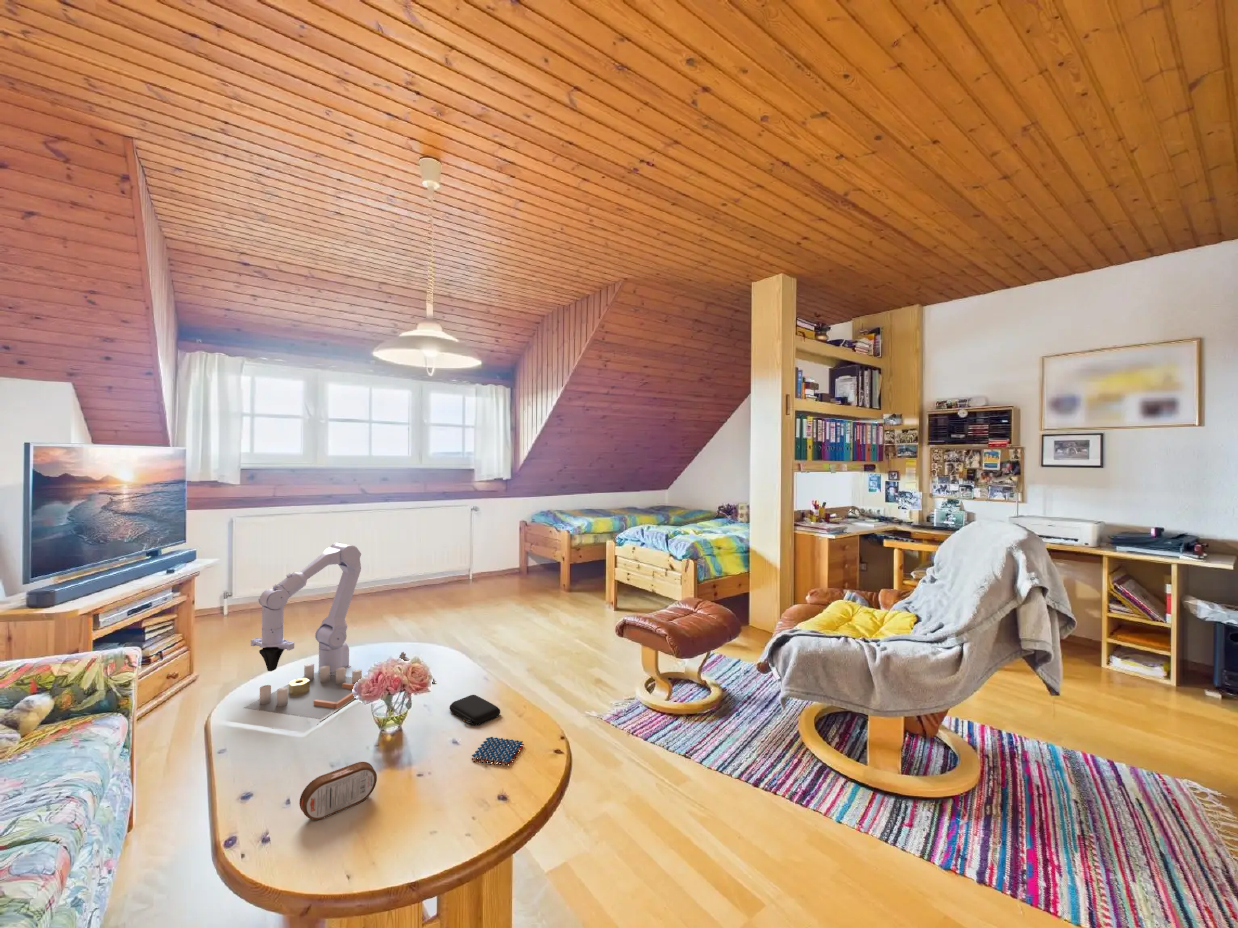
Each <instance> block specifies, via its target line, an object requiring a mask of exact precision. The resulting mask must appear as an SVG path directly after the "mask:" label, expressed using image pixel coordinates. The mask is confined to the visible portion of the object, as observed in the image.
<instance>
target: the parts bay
mask: <svg viewBox="0 0 1238 928" xmlns="http://www.w3.org/2000/svg"><path fill="white" fill-rule="evenodd" d="M353 686H354V684H351V683H343V684H342V688H348V689H353ZM350 699H351V700H352V699H355V697H354V696H353V694H352V693H350V694H349V695H347V696H346V697H344V698H342V699H341V700H339V701H338V702H331V701H324V700H314V705H317V706H325V707H332V708H337V709H339V708H341V707H342V705H345V704H347V703H348V702H349V701H351V700H350ZM347 701H348V702H347ZM344 703H345V704H344Z"/></svg>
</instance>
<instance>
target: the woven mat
mask: <svg viewBox="0 0 1238 928" xmlns="http://www.w3.org/2000/svg"><path fill="white" fill-rule="evenodd" d="M508 745H509V746H508ZM520 745H524V746H525V744H524V743H523V740H518V739H517V740H516V739H514V740H513V739H509V738H506V739H505V738H503V737H501V738H500V737H497V736H496V737H495V736H489V737H486V738H485V740H483V741H482V744H480V747H477V750H475V751H474V754H472V755H471V757H472V758H471V760H472V762H473V761H475V762H478V761H481V762H484V761H485V762H487V761H488V762H489V763H491V762H494V763H493V765H494V764H496V763H497V762H498V763H501V766H502V765H505V764H506V765H508V764H509V765H510V766H511V765H512V763H513V762H512V761H514V762H515V760H516V758H517V756H518V754H519V753H520V752H519V750H520V748H522V747H523V748H524V746H520ZM523 748H522V749H523ZM518 752H519V753H518ZM514 753H516V754H514ZM515 757H516V758H515ZM477 758H478V759H477ZM513 759H514V760H513ZM485 762H484V763H485ZM496 765H497V764H496ZM506 765H505V766H506Z"/></svg>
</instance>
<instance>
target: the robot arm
mask: <svg viewBox="0 0 1238 928" xmlns="http://www.w3.org/2000/svg"><path fill="white" fill-rule="evenodd" d="M361 555H362V553H361V551H360V550H359V548H358V547H357V546H356V545H352V544H345V543H343V542H334V543H333V544H331V545H330V546H329V547H327V548H325V549H324V551H323V552H322V553H321V554H320V555H319V556H317V557H316V558H315V559H314V560H313V561H311V562H310V563H309V564H308V565H307V566H305V567H304V568H303V569H302V570H300V571H299V572H298V571H297V572H295V571H294V572H292V573H290V572H289V573H288V574H286V575H285V576H286V577H285V578H284V579H282V580H281V581H280V582H278V583H276V584H274V585H272V588H268V589H265V590H264V591H262V592H261V595H260V596H259V598H258V600H257V601H258V604H260V605H261V607H262V608H261V611H262V612H261V613H262V614H261V637H255V638H252V639H251V640H250V647H256V646H257V647H259V648H261V649H260V650H258V652H259V654H260V656H261V657H262V659H263V661H264V663H265V665H266V666H265V667H266V670H267V672H273V671H275V670H277V668H278V665H279V664H278V663H279V661H280V659H281V656H282V654H284V653H283V652H284V651H285V650H286V651H292V650H294V649H295V642H293V641H289V640H287V639H285V638H284V607H285V606H286V605H287V603H288V601H289V599H290V598H291V597H292V596H294V595H295V594H296V593H298V592H299V591H300V590H302V589H303V588H304V587H305V586H306V585H307V581H308V579H310V578H312V577H314V575H317V573H319V572H320V571H322V570H324V569H325V568H326V567H328V566H329V565H330V566H332V565H338V566H339V568H340V569H341V571H342V573H341V576H340V579H339V583H338V586H337V589H336V591H335V594H334V597H333V600H332V603H331V606H330V609H329V612H328V615H327V616H326V617H325V618H324V619H322V620H321V623H320V626H319V627H318V628H317V629H316V631H315V635H314V638H315V640H316V641H317V642H318V673H320V667H322V666H326V665H328V666H330V674H333V673H336V669H337V668H341V667H344V668H351V667H352V665H351V664H350V648H349V647H350V646H349V645H348V644H347V643H346V640H347V630H348V625H347V621H346V616H347V613H348V611H349V608H350V605H351V601H352V598H353V597H354V596H353V595H354V592H355V590H356V586H357V583H358V581H359V577H360V575H361V574H360V573H361V570H362V565H361Z"/></svg>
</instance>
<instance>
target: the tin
mask: <svg viewBox="0 0 1238 928" xmlns="http://www.w3.org/2000/svg"><path fill="white" fill-rule="evenodd" d="M377 781H378V775H377V772H376V770H375V769H374V767H373V765H372V764H371V763H369V762H367V761H358V762H355V763H352V764H350V765H346V766H344V767H341V768H338V769H336V770H333V771H330V772H327V773H324V774H322V775H319V776H318V777H315V778H314V779H313V780H311V781H310V782H309V783H308V784H307V785H306V786H305V788H304V789H303V791H302V792H301V794H300V797H299V809H300V810H301V812H302V813H303V814H304V816H305V817H306V818H308V819H309V820H316V821H317V820H322V819H324V817H325V818H327V817H329V815H330V816H332V815H335V814H336V812H337V813H339V812H341V811H344V810H346V808H347V809H349V808H351V807H353V806H356V805H358V803H359V804H360V803H362V802H364V801H365V800H366V799H368V798H369V797H370V796H371V794H372V793H373V791H374V790H375V788H376V785H377ZM334 813H335V814H334Z"/></svg>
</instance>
